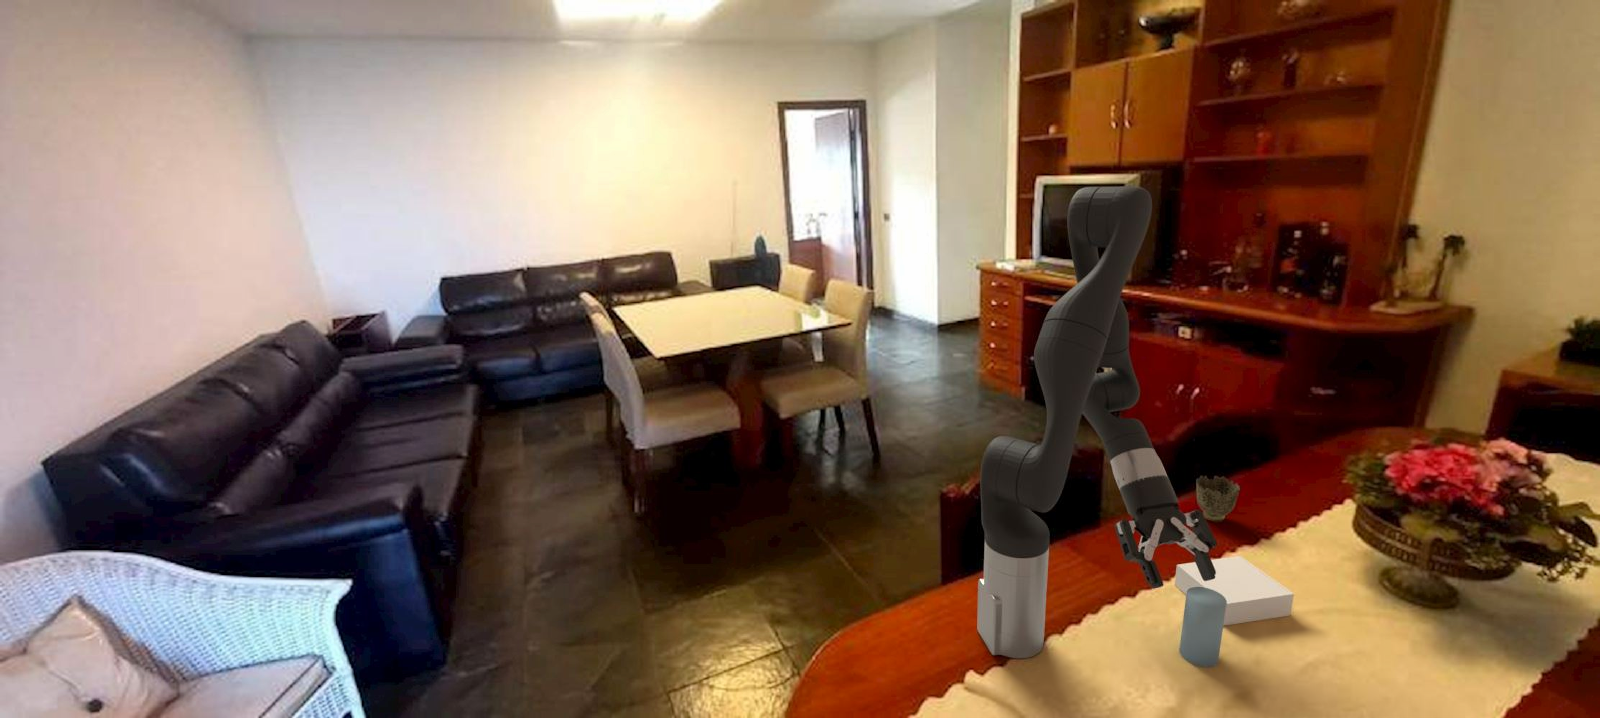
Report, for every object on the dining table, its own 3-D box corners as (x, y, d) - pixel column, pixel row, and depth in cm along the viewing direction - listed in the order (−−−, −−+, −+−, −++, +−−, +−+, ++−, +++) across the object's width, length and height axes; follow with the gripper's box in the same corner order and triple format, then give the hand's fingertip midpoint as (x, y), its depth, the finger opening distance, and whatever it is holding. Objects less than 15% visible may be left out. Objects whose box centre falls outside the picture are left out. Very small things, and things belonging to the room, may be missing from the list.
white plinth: (1222, 625, 105) (1225, 604, 104) (1174, 584, 115) (1176, 564, 114) (1290, 615, 106) (1294, 593, 105) (1237, 575, 117) (1240, 555, 116)
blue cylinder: (1195, 669, 96) (1203, 610, 94) (1171, 646, 101) (1178, 589, 98) (1226, 664, 97) (1235, 605, 94) (1201, 641, 102) (1209, 584, 99)
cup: (1228, 511, 138) (1233, 476, 135) (1240, 529, 131) (1245, 492, 129) (1187, 508, 140) (1192, 473, 137) (1197, 526, 133) (1202, 489, 131)
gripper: (1113, 479, 104) (1154, 585, 97) (1195, 468, 106) (1242, 572, 98) (1091, 494, 111) (1128, 594, 103) (1170, 484, 113) (1212, 582, 105)
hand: (1184, 583), depth 101 cm, fingers open, 8 cm apart
